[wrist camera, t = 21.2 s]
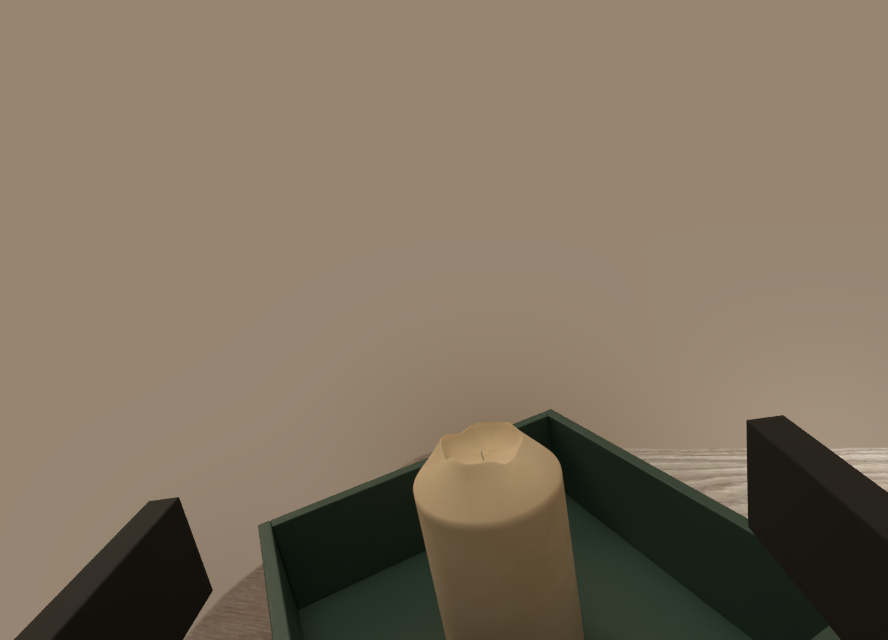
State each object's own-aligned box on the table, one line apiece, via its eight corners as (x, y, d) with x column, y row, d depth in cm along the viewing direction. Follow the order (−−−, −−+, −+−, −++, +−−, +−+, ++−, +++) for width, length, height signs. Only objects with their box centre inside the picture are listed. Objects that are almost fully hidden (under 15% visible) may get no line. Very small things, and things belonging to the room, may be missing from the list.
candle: (561, 749, 17) (521, 498, 14) (427, 688, 20) (374, 470, 17) (601, 620, 21) (576, 410, 19) (487, 586, 24) (452, 400, 22)
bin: (391, 1219, 10) (325, 1062, 9) (287, 617, 26) (257, 524, 24) (888, 740, 16) (899, 601, 15) (561, 488, 32) (550, 408, 30)
